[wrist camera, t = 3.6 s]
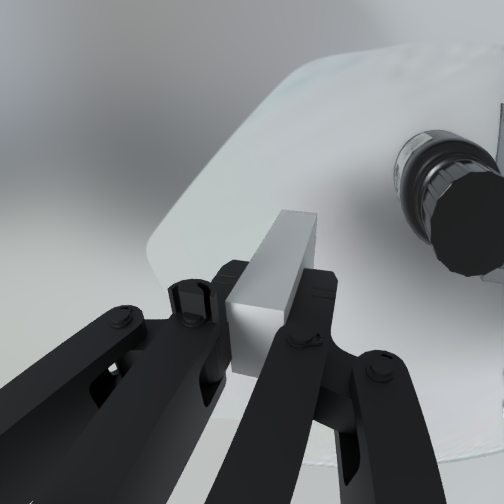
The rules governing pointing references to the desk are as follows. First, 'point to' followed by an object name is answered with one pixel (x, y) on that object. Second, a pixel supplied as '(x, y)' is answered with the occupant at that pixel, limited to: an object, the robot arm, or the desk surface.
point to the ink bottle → (453, 200)
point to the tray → (500, 273)
